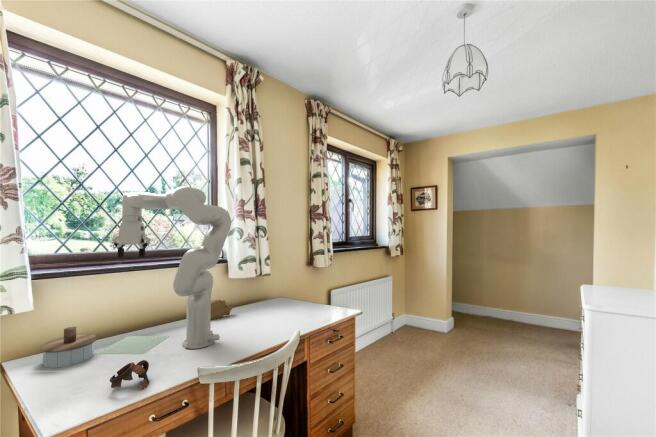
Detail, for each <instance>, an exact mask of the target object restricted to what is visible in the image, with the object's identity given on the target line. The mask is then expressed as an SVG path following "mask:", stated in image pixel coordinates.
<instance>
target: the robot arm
mask: <svg viewBox="0 0 656 437" xmlns="http://www.w3.org/2000/svg"><path fill="white" fill-rule="evenodd" d="M206 200H207V196H206V194H205V192H204V191H203V190H201V189H200V188H195V187H190V186H183V185H182V186H179V187H178V186H177V188H175V189H169V190H168V191H166V193H159V194H158V193H154V192H153V193H151V192H147V191H146V192H145V191H138V192H126V193H123V195H122V209H121V210H122V214H121V215H122V216H121V223H120V225H119V231H118V235H117V236H115V237H113V238H112V240H111V241H112V242H113V245H114V246H115V248H116V249H117V258H124V257H125V248H124V247H125V246H126V245H127V246H128V245H131V246H132V245H137V246H138V247H139V249H138V258H145V255H146V249H147V248H148V246H149V245H150V242H151V241H152V239H151V238H150V237H148V236H146V228H145V224H144V223H143V221H144V220H145V218H144V217H143V216H142V215H143V214H142V213H143V212H142V211H143V210H159V211H160V210H163V211H164V210H175V209H179V210H180V212H182V213H183V214H184V216H185V217H187V218H188V220H190V221H191V223H194V224H195V225H198V226H211V227H210V228H209V229H208V231H207V232H206V233H205V235H204V238H203V241H202V243H201V245H200V246H199V247H193V248H190V249H188V250H187V251H186V252H185V253H184V254H183V256H182V257H181V259H180V262H179V265H178V268H177V271H176V273H175V276H174V279H173V284H172V286H173V288H172V289H173V291H174V293H175V295H177V296H179V297H184V298H185V297H187V301H186V330H185V331H186V336H185V338H186V339H185V340H183V341H182V344H181V345H182V348H184V349H187V350H188V349H189V350H195V349H203V348H206V347H208V346H211V345H213V343H214V342H215V341H219V340H220V337H221V336H220V334H219V333H215V334H214V333H213V330H211V323H212V322H211V320H212V319H211V301H212V291H213V286H214V277H213V275H212V273H211V271H209V270H208V269H212V268H214V267H215V266H216V265H217V264H218V262H219V259H220V257H221V254H222V251H223V247H224V245H225V242H226V240H227V238H228V236H229V233H230V231H231V229H232V228H231V227H232V219H231V216H230V214H229V212H228V211H227V210H226V209H225V208H223V207H222V206H218V205H215V204H214V205H213V204H205V203H206Z"/></svg>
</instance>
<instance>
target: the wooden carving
mask: <svg viewBox="0 0 656 437" xmlns="http://www.w3.org/2000/svg"><path fill="white" fill-rule="evenodd" d="M232 310H233V307H231V306H230V305H227V302H226V300H221V299H215V300H211V320H217V319H220V318H222V317H224V316H229V315H230V314H231V312H232Z"/></svg>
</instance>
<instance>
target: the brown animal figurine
mask: <svg viewBox="0 0 656 437" xmlns="http://www.w3.org/2000/svg"><path fill="white" fill-rule="evenodd" d="M149 368H150V364H149V362H148V361H147V360H146V359H142V360H140V361H139V362H137V363H136V364H135V362H133V361H132V362H129V363H126V364H125V365H124V366H123V367H122V368H120V369H118V371H116V374H113V375H112V376H111V377H110V379H109V382H110V383H111V385H110V388H111V389H114V388H122V382H123V381H128V382H129V381H131V380H133V379H134V377H133V373H135V374H136V375H137V377H138V378H139V379H143V380H142V381H141V382H140V383H139V386H140V387H141V390H142V389H143V390H145V389H146V388H147V386H148V385H149V384H150V380H149V378H148V374H147V373H148V370H149ZM144 388H145V389H144Z"/></svg>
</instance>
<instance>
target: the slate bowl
mask: <svg viewBox="0 0 656 437" xmlns="http://www.w3.org/2000/svg"><path fill="white" fill-rule="evenodd" d="M94 343H95V342H93V343H91V344H89V345H87V346H84V347H81V348H78V349H74V350H69V351H64V352H55V353H47V352H42V364H43V367H46V368H48V369H49V368H52V369H55V368H62V367H67V366H72V365H76V364H79V363H82V362H84V361H87V360H89V359H90V358H91V357H92V356H93V355H94Z"/></svg>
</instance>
